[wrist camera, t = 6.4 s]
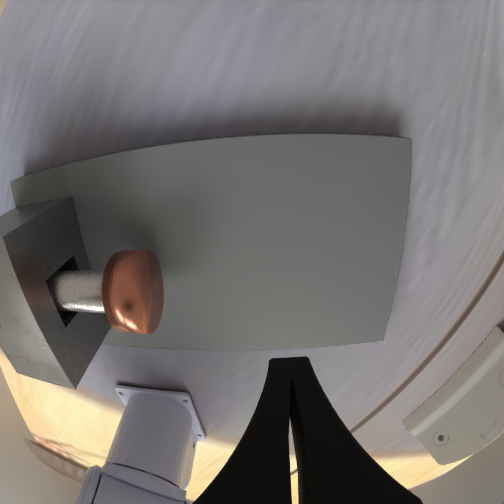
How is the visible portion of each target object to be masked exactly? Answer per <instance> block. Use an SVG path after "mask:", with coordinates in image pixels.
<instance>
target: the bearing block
mask: <svg viewBox="0 0 504 504" xmlns="http://www.w3.org/2000/svg"><path fill="white" fill-rule="evenodd" d="M82 270H92V268H91V265H90V262H89V259H88V255H87V252H86V248H85V245H84V241H83V238H82V234H81V230H80V226H79V222H78V218H77V214H76V209H75V205H74V200H73V196H68V197H63V198H58V199H53V200H48V201H43V202H38V203H33V204H29V205H24V206H20V207H16V208H14V209H12V210H10V211H9V212H7V213H5V214H3V215H2V216H0V346H1V348H2V350H3V351H4V353H5V355H6V356H7V358H8V359H9V361H10V362H11V364H12V366H13V367H14V369H15V370H16V372H17V373H19V374H22V375H25V376H29V377H32V378H35V379H38V380H42V381H45V382H48V383H52V384H56V385H59V386H63V387H67V388H71V389H76V387H77V385H78V384H79V382H80V380H81V378H82V376H83V375H84V373H85V371H86V369H87V368H88V366H89V364H90V362H91V361H92V359H93V357H94V355H95V354H96V352H97V350H98V349H99V347H100V345H101V343H102V342H103V340H104V338H105V337H106V335H107V334H108V332H109V330H110V329H111V327H112V326H111V324H110V323H109V321H108V319H107V317H106V314H105V313H92V312H77V311H64V310H57V308H56V306H55V303H54V301H53V299H52V296H51V294H50V291H49V289H48V286H47V284H46V280H47V279H48V278H49V277H50V276H51V275H52V274H54V273H55V272H56V271H82Z"/></svg>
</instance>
